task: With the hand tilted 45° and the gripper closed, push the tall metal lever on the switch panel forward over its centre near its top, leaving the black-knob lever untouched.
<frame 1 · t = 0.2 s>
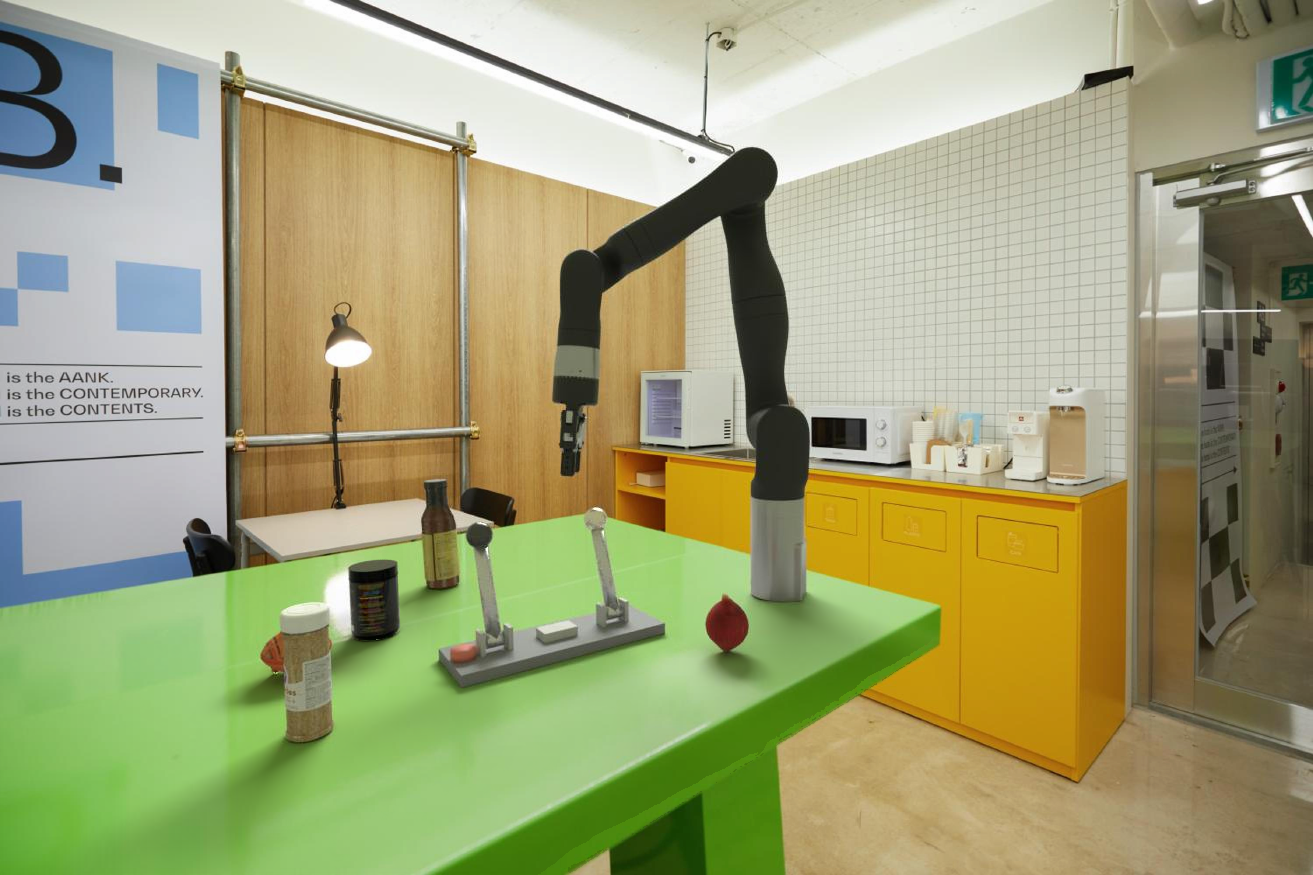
hand: (570, 474, 104), 22 cm above the table, tool pointing down, fingers open, 8 cm apart
black knob lever: (486, 583, 85), point 10 cm above the table, hinge at -20.0°
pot: (298, 675, 81), on the table
sprinkles bottle: (310, 734, 67), on the table
supplement container: (376, 635, 94), on the table
metal lever: (603, 562, 96), point 10 cm above the table, hinge at -20.0°
switch panel: (557, 645, 89), on the table
onion: (727, 652, 86), on the table
sauce bottle: (441, 586, 118), on the table
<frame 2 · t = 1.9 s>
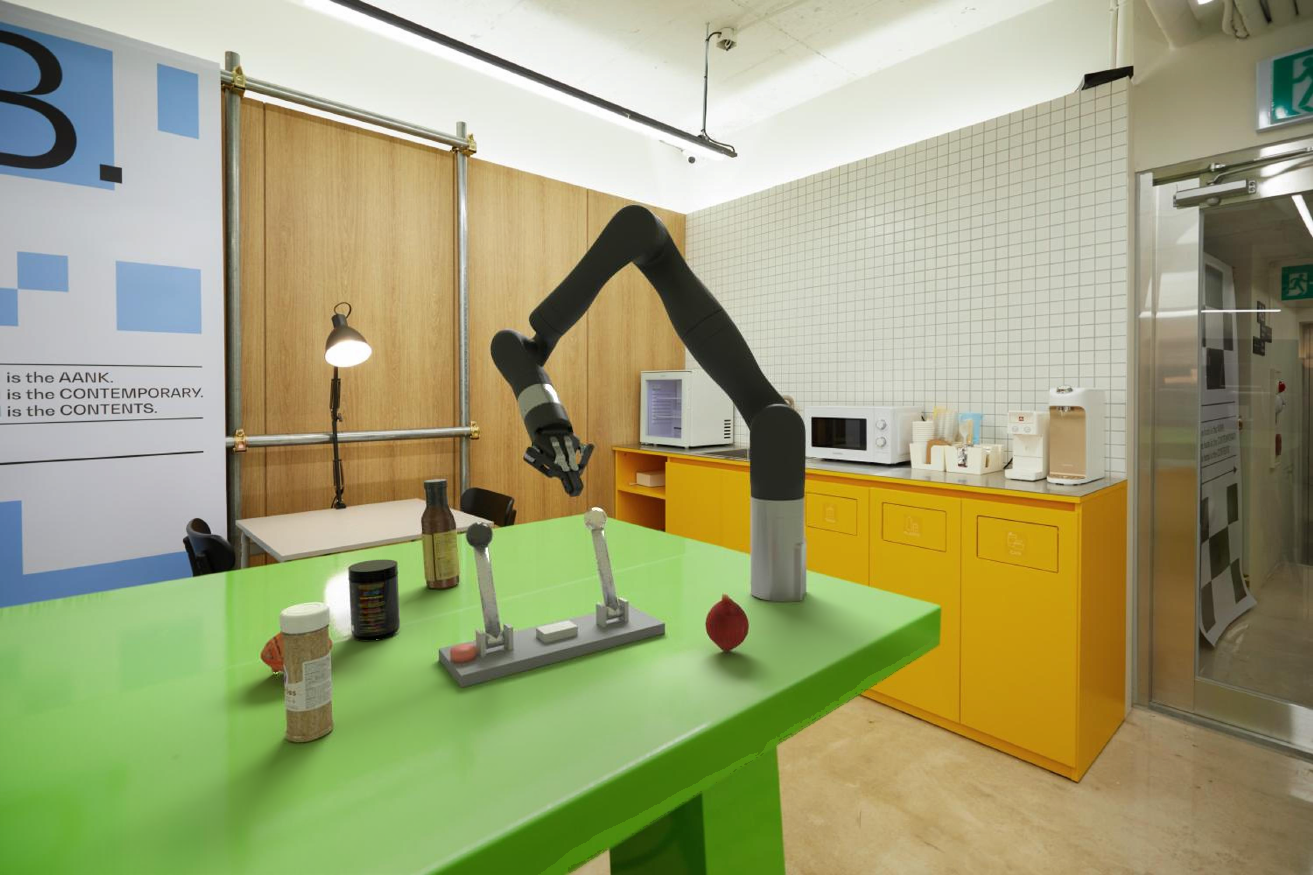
hand: (576, 493, 102), 19 cm above the table, tool tilted 45°, fingers closed
nothing on the table moved.
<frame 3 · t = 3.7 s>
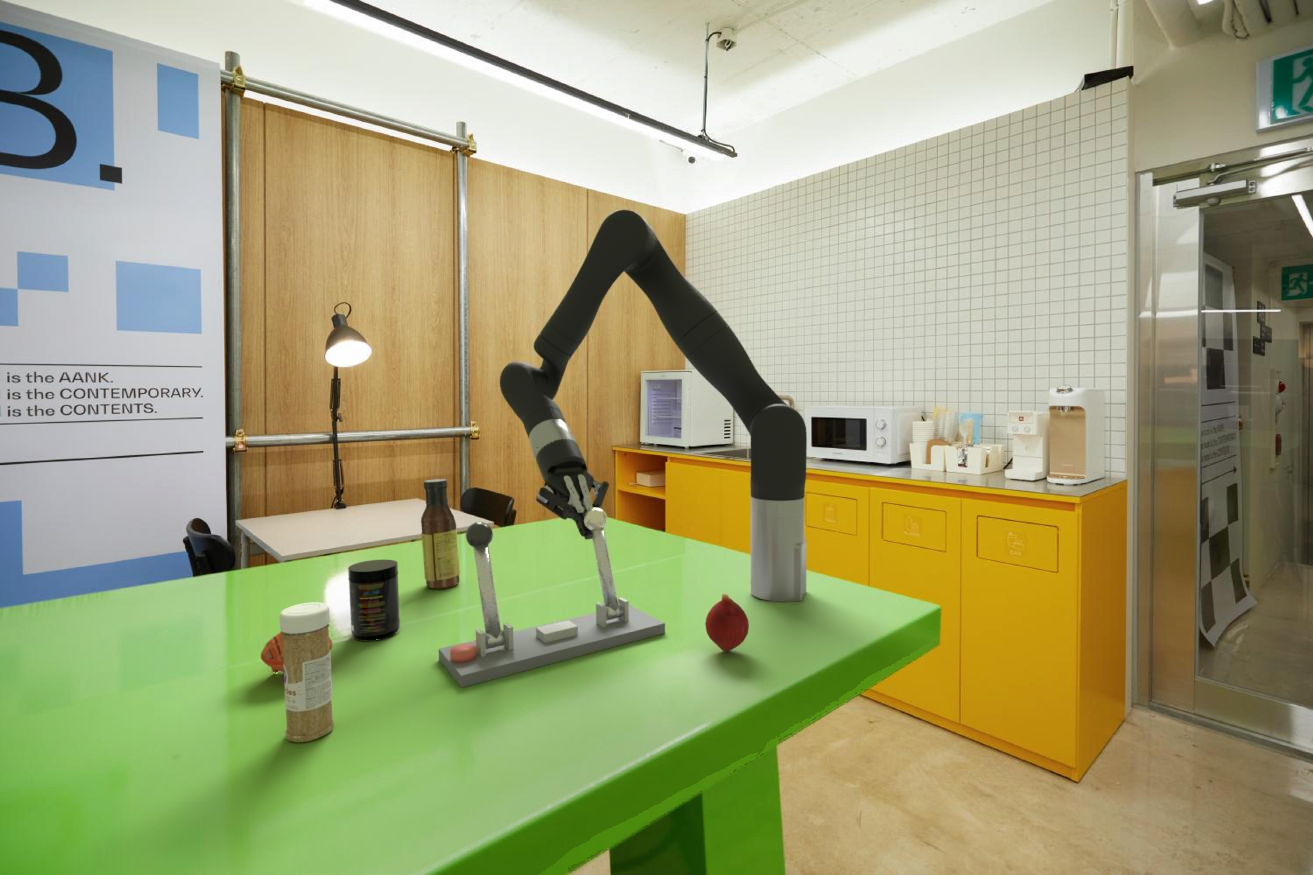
hand: (592, 535, 98), 13 cm above the table, tool tilted 45°, fingers closed
metal lever: (603, 562, 96), point 10 cm above the table, hinge at -20.0°, touching gripper
everything else where it was.
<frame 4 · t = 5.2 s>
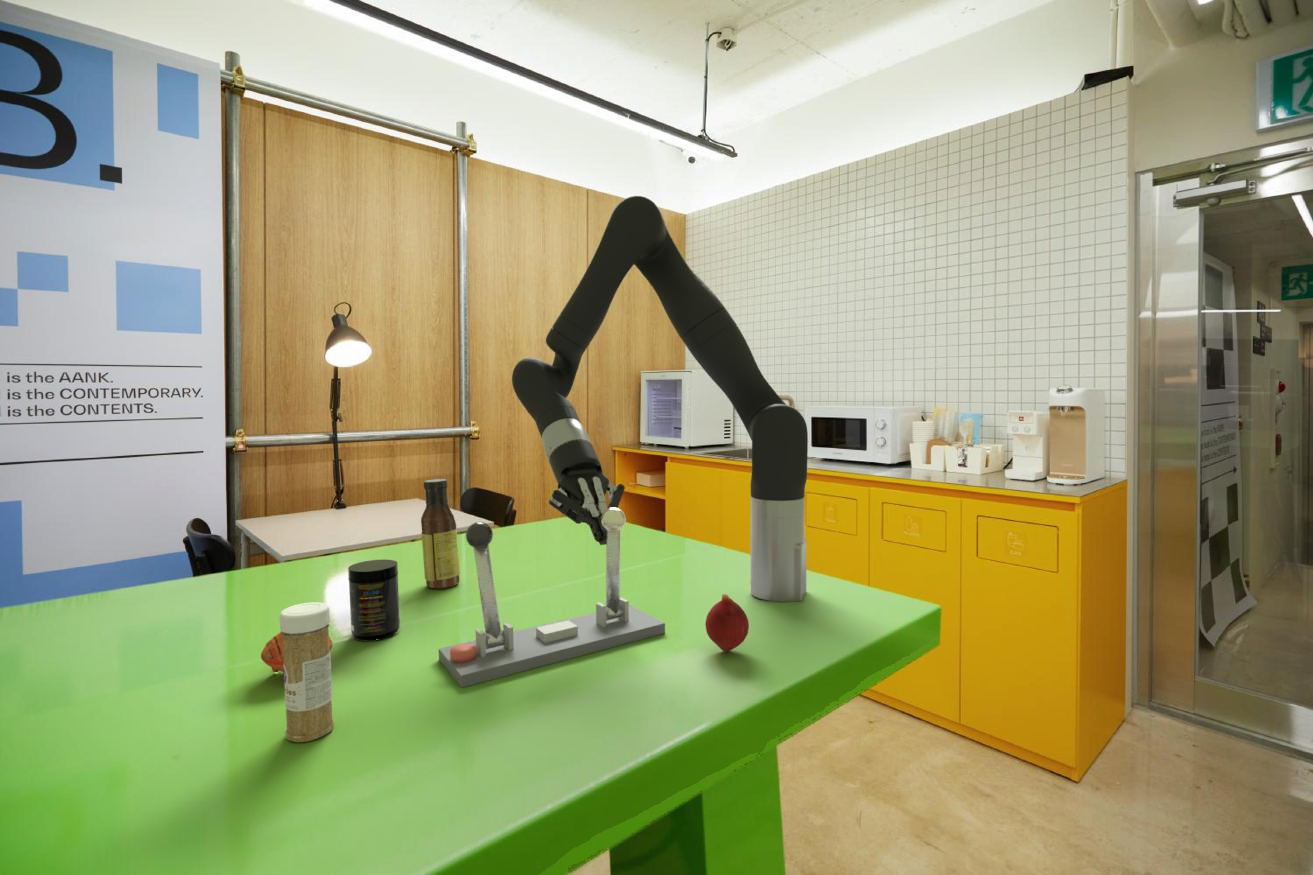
hand: (607, 541, 94), 13 cm above the table, tool tilted 45°, fingers closed
metal lever: (613, 563, 93), point 10 cm above the table, hinge at 2.7°, touching gripper
everything else where it was.
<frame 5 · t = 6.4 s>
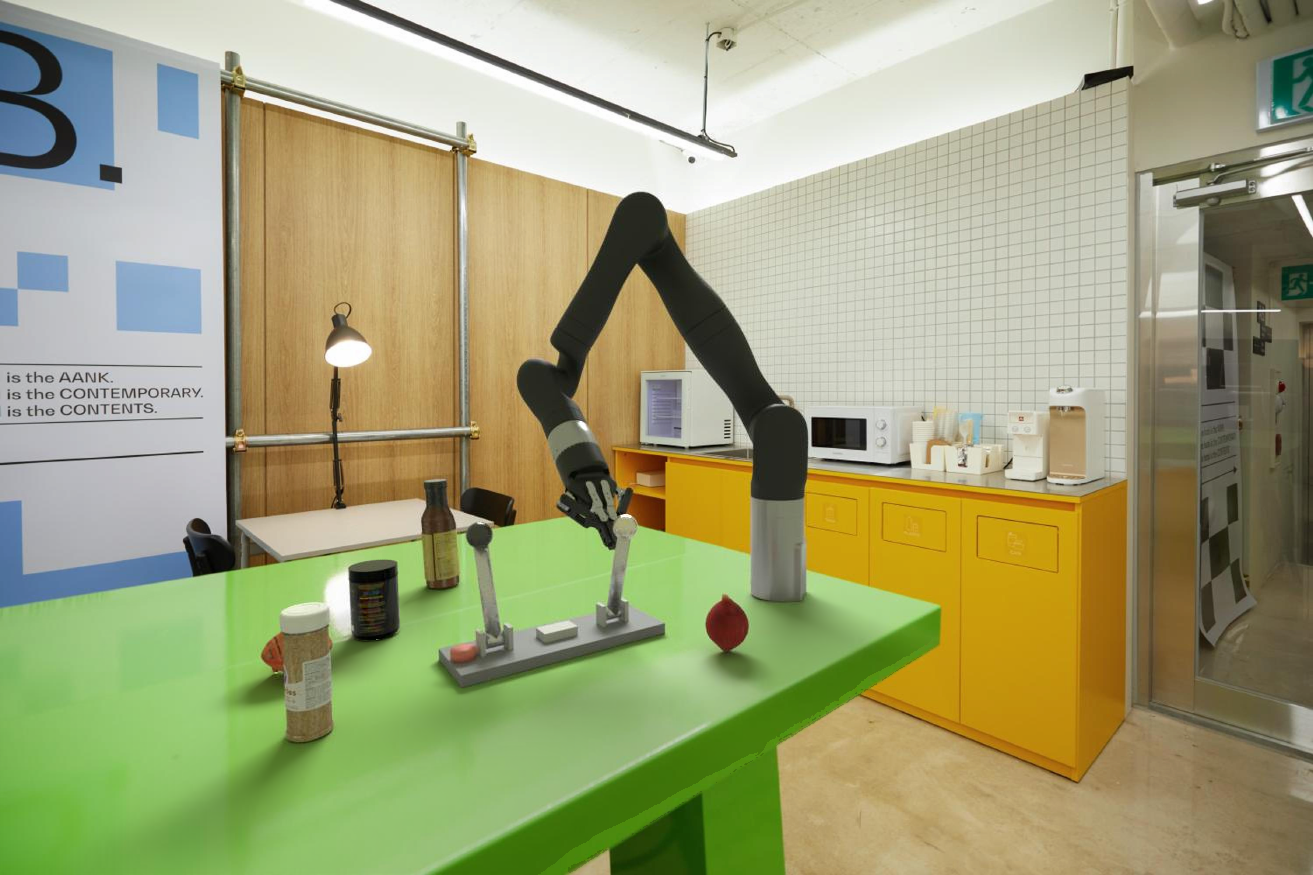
hand: (616, 546, 92), 13 cm above the table, tool tilted 45°, fingers closed
metal lever: (619, 568, 92), point 10 cm above the table, hinge at 16.5°, touching gripper
everything else where it was.
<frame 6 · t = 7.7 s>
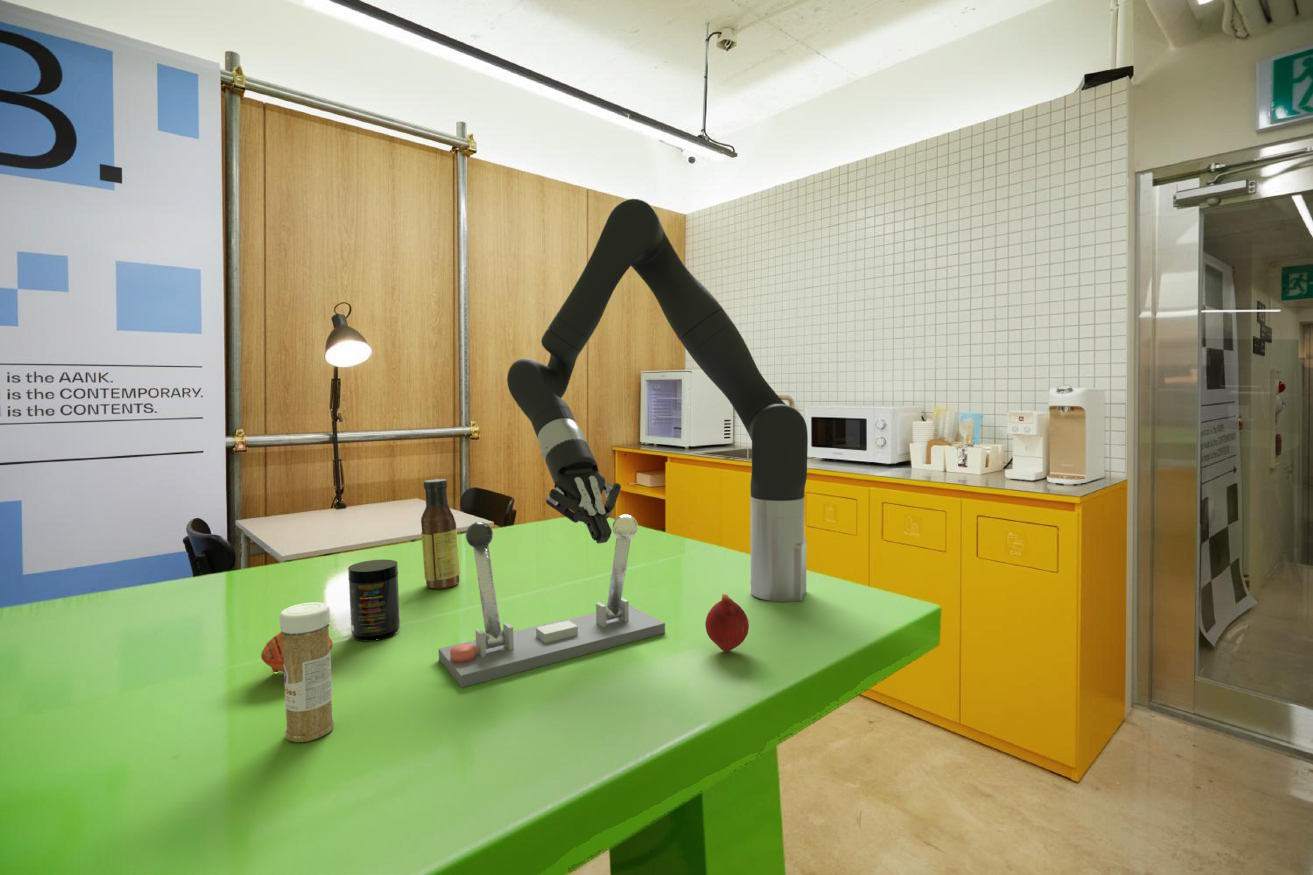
hand: (604, 539, 95), 14 cm above the table, tool tilted 45°, fingers closed
metal lever: (619, 568, 92), point 10 cm above the table, hinge at 16.6°
everything else where it was.
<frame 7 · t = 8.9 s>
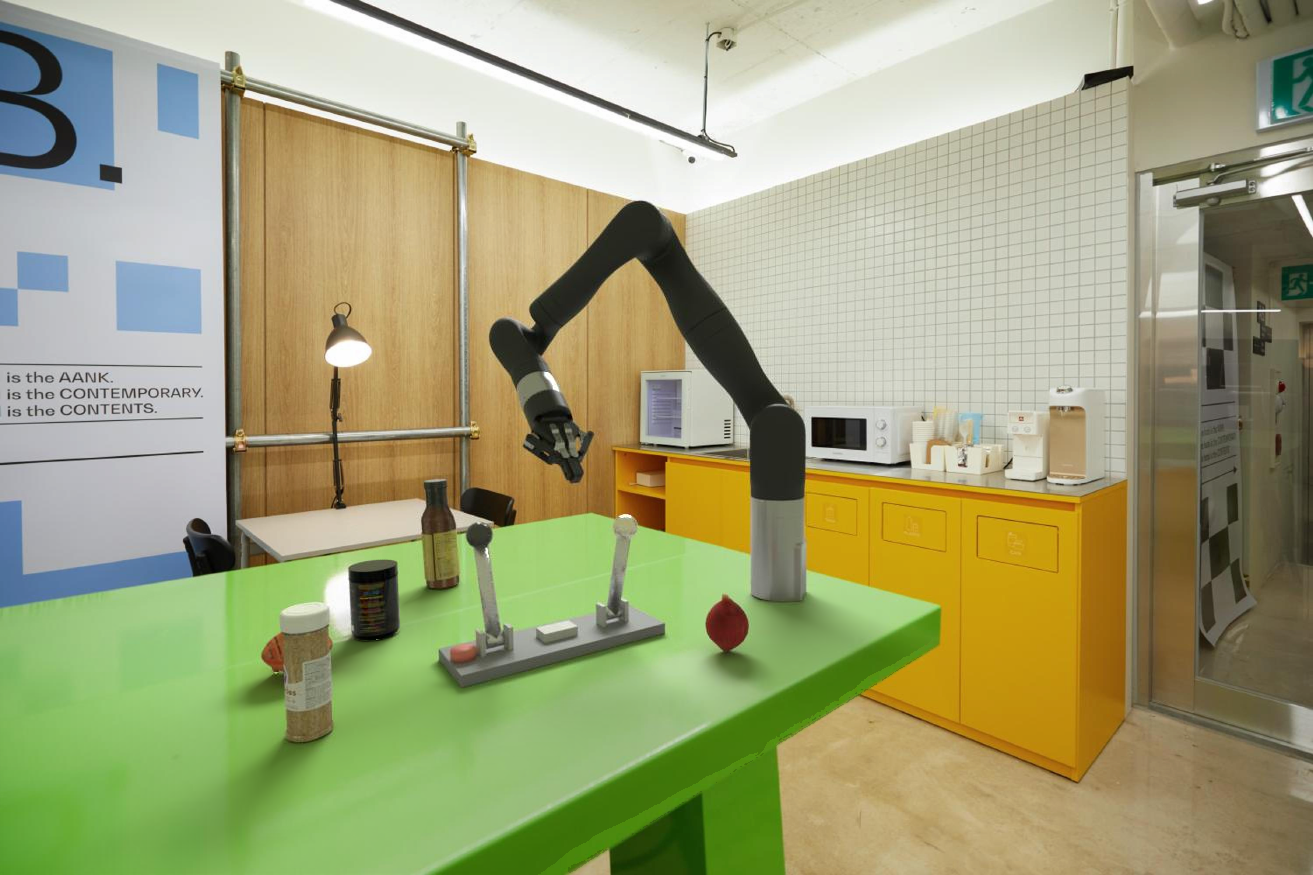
hand: (577, 479, 101), 22 cm above the table, tool tilted 45°, fingers closed
nothing on the table moved.
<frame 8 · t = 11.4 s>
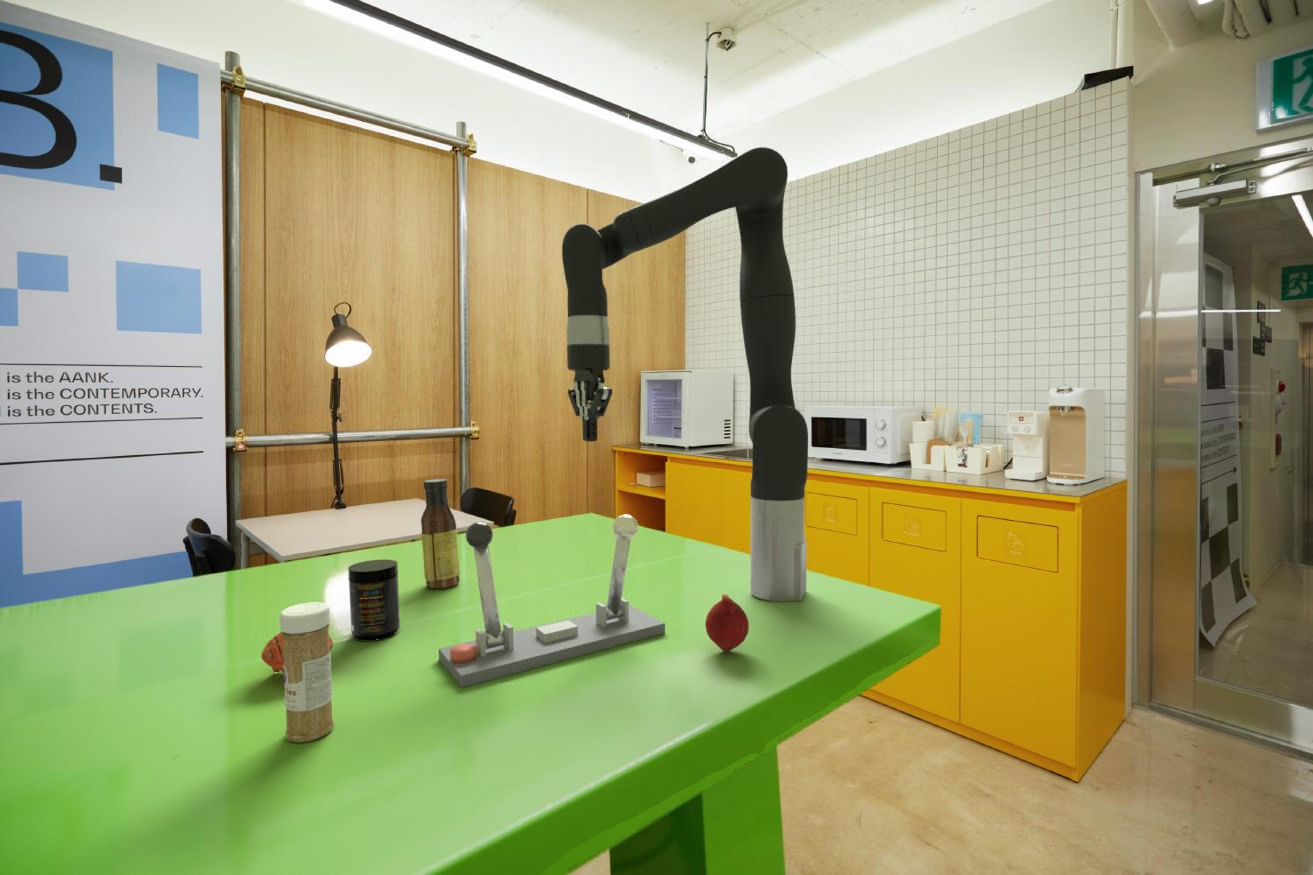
hand: (590, 441, 113), 27 cm above the table, tool pointing down, fingers closed
nothing on the table moved.
at the end: metal lever at +17° (first picture: -20°); black knob lever at -20° (first picture: -20°) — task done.
